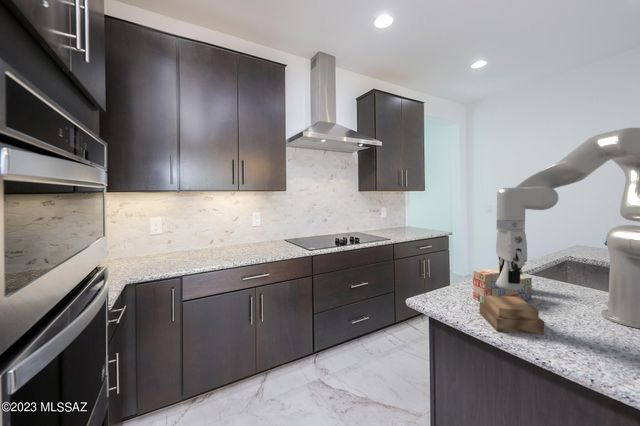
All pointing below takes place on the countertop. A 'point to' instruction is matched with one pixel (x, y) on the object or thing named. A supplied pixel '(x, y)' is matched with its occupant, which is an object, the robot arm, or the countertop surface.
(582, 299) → the countertop surface
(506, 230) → the robot arm
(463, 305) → the countertop surface
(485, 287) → the stack of blocks
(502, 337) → the countertop surface
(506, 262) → the flask
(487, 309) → the stepped wooden pedestal
